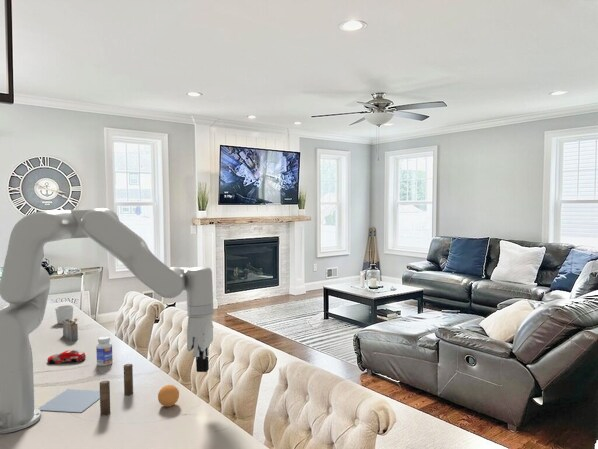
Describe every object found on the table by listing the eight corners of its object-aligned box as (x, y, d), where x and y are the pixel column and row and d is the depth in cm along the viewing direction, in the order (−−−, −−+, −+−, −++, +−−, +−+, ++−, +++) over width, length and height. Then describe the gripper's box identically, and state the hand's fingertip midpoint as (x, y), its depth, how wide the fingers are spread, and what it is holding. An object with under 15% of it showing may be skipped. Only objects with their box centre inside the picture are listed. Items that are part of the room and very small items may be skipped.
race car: (44, 365, 162) (44, 354, 161) (51, 360, 167) (51, 350, 167) (81, 363, 163) (81, 353, 163) (87, 358, 168) (86, 348, 168)
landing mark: (81, 412, 124) (81, 412, 124) (36, 410, 125) (36, 409, 125) (108, 391, 138) (108, 391, 138) (67, 389, 139) (67, 389, 139)
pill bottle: (106, 366, 159) (105, 340, 159) (93, 365, 160) (92, 339, 160) (115, 361, 164) (115, 336, 164) (103, 360, 165) (102, 335, 165)
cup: (59, 320, 224) (58, 304, 223) (76, 318, 226) (75, 303, 226) (54, 325, 214) (53, 309, 213) (72, 324, 216) (71, 308, 216)
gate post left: (107, 415, 122) (106, 384, 122) (98, 415, 122) (97, 384, 122) (112, 411, 125) (111, 380, 124) (103, 411, 125) (102, 380, 124)
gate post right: (130, 395, 135) (129, 366, 134) (122, 395, 135) (121, 366, 135) (134, 391, 138) (134, 363, 137) (126, 391, 138) (126, 363, 137)
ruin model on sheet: (79, 340, 191) (78, 318, 191) (71, 342, 189) (70, 320, 189) (70, 335, 199) (69, 314, 199) (63, 336, 197) (62, 315, 197)
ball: (174, 410, 125) (174, 390, 124) (154, 409, 125) (154, 389, 125) (182, 401, 131) (182, 381, 130) (163, 400, 131) (163, 381, 131)
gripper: (196, 303, 135) (199, 361, 136) (178, 316, 120) (180, 381, 121) (220, 303, 134) (222, 361, 135) (204, 316, 119) (206, 381, 120)
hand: (202, 370), depth 128 cm, fingers closed
